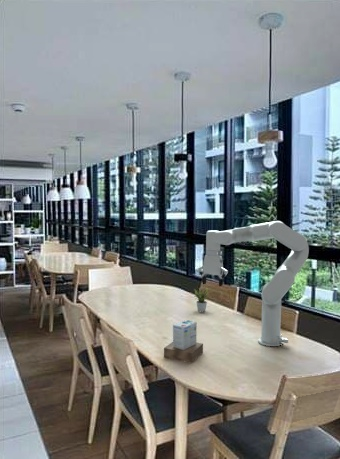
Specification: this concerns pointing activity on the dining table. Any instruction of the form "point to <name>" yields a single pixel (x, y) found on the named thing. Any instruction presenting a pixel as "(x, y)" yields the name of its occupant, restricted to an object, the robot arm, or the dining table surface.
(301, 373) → the dining table surface
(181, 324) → the light bulb box
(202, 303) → the house plant
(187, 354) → the walnut block
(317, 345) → the dining table surface
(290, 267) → the robot arm
